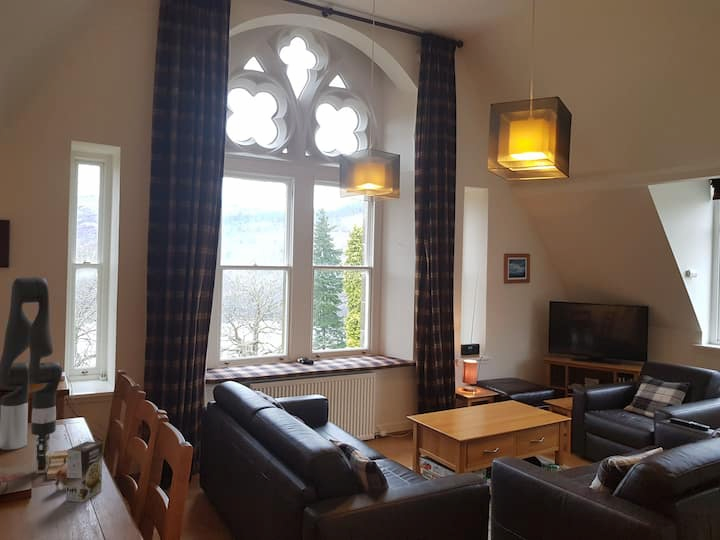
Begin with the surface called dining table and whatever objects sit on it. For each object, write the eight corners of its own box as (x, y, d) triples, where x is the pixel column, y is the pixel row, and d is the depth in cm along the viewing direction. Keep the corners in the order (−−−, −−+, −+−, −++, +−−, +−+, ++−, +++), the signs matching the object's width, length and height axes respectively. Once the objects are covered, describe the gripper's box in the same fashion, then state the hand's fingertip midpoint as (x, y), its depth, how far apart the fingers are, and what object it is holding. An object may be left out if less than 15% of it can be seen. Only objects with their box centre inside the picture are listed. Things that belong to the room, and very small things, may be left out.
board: (53, 456, 209) (53, 451, 209) (70, 455, 211) (70, 449, 211) (46, 479, 187) (46, 473, 187) (64, 477, 189) (65, 471, 189)
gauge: (37, 469, 195) (37, 452, 195) (68, 466, 199) (68, 449, 199) (35, 473, 192) (36, 456, 192) (67, 470, 196) (67, 453, 196)
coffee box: (83, 503, 170) (84, 451, 170) (64, 500, 171) (66, 449, 171) (102, 491, 179) (103, 442, 179) (85, 489, 180) (86, 440, 180)
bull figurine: (93, 479, 189) (94, 455, 189) (60, 494, 176) (61, 468, 176) (83, 477, 190) (84, 453, 190) (50, 491, 177) (50, 466, 177)
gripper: (34, 414, 199) (32, 462, 199) (28, 425, 186) (27, 476, 186) (57, 413, 202) (56, 459, 202) (53, 423, 189) (52, 473, 189)
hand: (42, 467), depth 194 cm, fingers closed on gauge, 4 cm apart
